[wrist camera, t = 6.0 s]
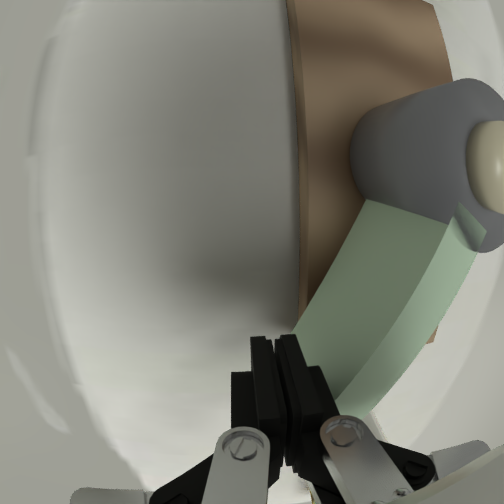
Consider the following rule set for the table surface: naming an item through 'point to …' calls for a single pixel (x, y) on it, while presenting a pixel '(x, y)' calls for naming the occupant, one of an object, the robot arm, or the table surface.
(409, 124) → the grey and green piece
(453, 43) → the table surface
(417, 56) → the post base
